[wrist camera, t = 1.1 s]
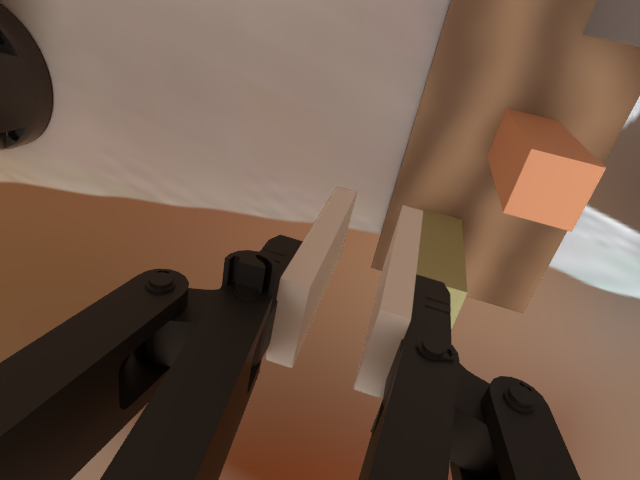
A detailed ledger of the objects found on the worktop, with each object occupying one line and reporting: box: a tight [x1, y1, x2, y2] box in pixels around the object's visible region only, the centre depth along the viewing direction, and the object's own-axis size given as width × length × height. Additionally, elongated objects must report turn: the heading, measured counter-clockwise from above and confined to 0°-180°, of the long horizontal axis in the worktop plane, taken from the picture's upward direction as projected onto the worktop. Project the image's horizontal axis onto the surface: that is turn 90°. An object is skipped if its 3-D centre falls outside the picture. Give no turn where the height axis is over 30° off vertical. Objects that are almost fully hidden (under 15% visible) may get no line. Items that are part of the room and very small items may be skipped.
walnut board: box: [371, 0, 640, 313], centre depth 36 cm, size 15×31×1 cm, turn 169°
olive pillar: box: [416, 208, 468, 329], centre depth 36 cm, size 4×4×12 cm
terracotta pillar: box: [487, 108, 606, 232], centre depth 31 cm, size 4×4×12 cm
